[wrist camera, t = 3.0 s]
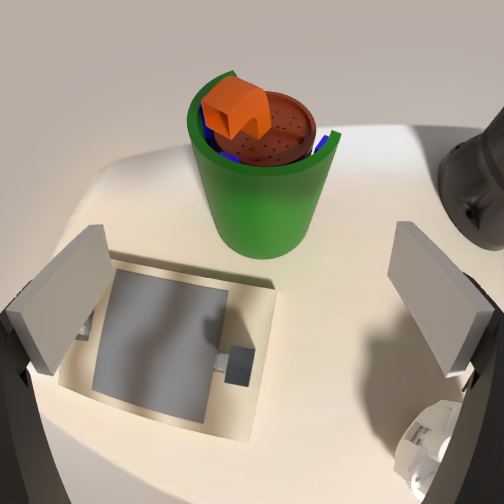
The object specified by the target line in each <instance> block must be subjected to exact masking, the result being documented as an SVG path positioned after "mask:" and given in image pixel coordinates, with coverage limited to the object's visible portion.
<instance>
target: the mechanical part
mask: <svg viewBox="0 0 504 504" xmlns="http://www.w3.org/2000/svg"><path fill="white" fill-rule="evenodd" d="M462 404H463V403H459V402H453V401H448V400H440V401H439V402H437V403H436V404H434V405H431V406H428V407H427V408H426V409H424V410H423V411H422V412H421V413H420V414H419V415H418V416H417V417H416V419H415V420H414V421H413V422H412V423H411V425H410V426H409V427H408V429H407V430H406V432H405V433H404V435H403V436H402V438H401V440H400V442H399V444H398V447H397V449H396V452H395V456H394V459H395V465H394V471H395V472H396V473H397V474H398V475H399V476H401V477H402V478H403V479H404V480H406V483H407V485H408V488H409V490H410V491H411V493H412V494H413V495H414V496H415V497H417V498H418V499H419V500H421V501H423V499H424V497H425V495H426V493H427V491H428V489H429V487H430V485H431V483H432V481H433V479H434V477H435V474H436V472H437V470H438V468H439V465H440V463H441V461H442V458H443V456H444V454H445V451H446V449H447V446H448V444H449V441H450V438H451V436H452V433H453V430H454V428H455V425H456V422H457V419H458V416H459V413H460V410H461V407H462ZM420 426H421V427H422V428H421V430H420V431H419V432H418V433H417V435H416V436H415V438H414V440H413V441H412V442H411V439H412V438H413V436H414V435H415V433H416V432H417V431H418V429H419V428H420Z"/></svg>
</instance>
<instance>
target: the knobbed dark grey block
mask: <svg viewBox="0 0 504 504" xmlns="http://www.w3.org/2000/svg"><path fill="white" fill-rule="evenodd" d="M93 315H94V312H93V311H92V312H91V314H90V315H89V317H88V318H87V320H86V322H85V323H84V325H83V326H82V328H81V330H80V331H79V333H78V334H77V336H76V338H75V340H82V341H88V339H89V334H90V332H91V329H92V320H93Z"/></svg>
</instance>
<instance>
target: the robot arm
mask: <svg viewBox="0 0 504 504" xmlns="http://www.w3.org/2000/svg"><path fill="white" fill-rule="evenodd" d="M438 185H439V191H440V195H441V198H442V201H443V204H444V206H445V209H446V211H447V213H448V215H449V216H450V218H451V220H452V221H453V223H454V224H455V225H456V227H457V228H458V229H459V230H460V232H461V233H462V234H463V235H464V236H465V237H466V238H467V239H469V240H470V241H471V242H472V243H474V244H475V245H477V246H479V247H481V248H483V249H486V250H490V251H499V250H502V249H504V107H503V108H502V110H501V111H500V112H499V113H498V115H497V116H496V117H495V118H494V120H493V121H492V122H491V123H490V125H489V126H488V127H487V128H486V129H485V131H484V132H483V133H481V134H479V135H477V136H475V137H473V138H471V139H469V140H468V141H466V142H463V143H460V144H458V145H456V146H455V147H454V148H452V149H451V150H450V152H449V153H448V154H447V155H446V157H445V158H444V159H443V161H442V162H441V164H440V167H439V172H438ZM387 276H388V277H389V279H390V280H391V282H392V283H393V285H394V287H395V288H396V290H397V292H398V293H399V295H400V297H401V298H402V300H403V301H404V303H405V305H406V307H407V308H408V310H409V312H410V313H411V315H412V317H413V318H414V320H415V322H416V324H417V325H418V327H419V329H420V331H421V332H422V334H423V336H424V338H425V340H426V341H427V343H428V345H429V347H430V349H431V351H432V352H433V354H434V356H435V358H436V360H437V362H438V364H439V366H440V368H441V369H442V371H443V373H444V375H445V377H446V378H448V377H453V376H457V375H462V374H463V373H464V371H465V370H466V368H467V366H468V364H469V362H471V363H472V365H473V367H474V368H475V369H474V371H473V372H472V374H471V376H470V378H469V379H468V381H467V383H466V384H465V386H464V388H463V389H462V391H463V392H464V391H465V390H466V388H467V390H466V394H465V397H464V400H463V404H462V407H461V410H460V413H459V416H458V419H457V422H456V425H455V428H454V430H453V433H452V436H451V438H450V441H449V444H448V446H447V449H446V451H445V454H444V456H443V458H442V461H441V463H440V465H439V468H438V470H437V472H436V474H435V477H434V479H433V481H432V483H431V485H430V487H429V489H428V491H427V493H426V495H425V497H424V499H423V501H422V503H421V504H504V313H503V312H502V310H501V309H500V308H499V307H498V306H497V304H496V303H495V302H494V301H493V300H492V299H491V298H490V296H489V295H488V294H486V292H485V291H484V290H483V289H482V288H481V286H480V285H479V284H478V283H477V282H476V281H475V280H474V279H473V278H472V277H470V276H469V275H467V274H466V273H464V272H462V271H461V270H460V269H459V268H458V267H457V266H456V265H455V264H454V263H453V262H452V261H451V260H450V259H449V258H448V257H447V256H446V255H445V254H444V253H443V252H442V251H441V250H440V248H439V247H438V246H437V245H436V244H435V243H433V242H432V241H431V240H430V239H429V238H428V237H427V236H426V235H425V234H424V233H423V232H422V231H421V230H420V229H419V228H418V227H417V226H416V225H415V224H414V223H413V222H406V221H397V226H396V232H395V238H394V243H393V249H392V254H391V259H390V264H389V269H388V274H387ZM114 277H115V276H114V272H113V268H112V263H111V259H110V255H109V250H108V246H107V241H106V237H105V232H104V227H103V224H102V225H89V226H88V227H87V228H85V229H84V230H83V231H82V232H81V233H80V234H79V235H78V236H77V237H76V238H75V239H73V240H72V241H71V242H70V243H69V244H68V245H67V246H66V247H65V248H64V249H63V250H62V251H61V252H60V253H59V254H58V255H57V256H56V257H55V258H54V259H53V260H52V261H51V262H50V263H49V264H48V265H47V266H46V267H45V268H44V269H43V270H42V271H41V272H40V273H39V274H38V275H37V276H36V277H35V278H34V279H33V280H31V281H30V282H28V284H27V285H26V286H25V287H24V288H23V289H22V291H20V292H19V293H18V294H17V296H16V297H15V298H14V299H13V300H12V301H11V302H10V303H9V304H8V305H7V306H6V308H5V309H4V310H3V311H2V312H1V313H0V504H71V502H70V500H69V498H68V495H67V493H66V490H65V488H64V485H63V483H62V481H61V478H60V476H59V473H58V470H57V468H56V465H55V462H54V459H53V457H52V454H51V451H50V448H49V445H48V442H47V438H46V435H45V432H44V429H43V425H42V422H41V419H40V414H39V411H38V407H37V403H36V399H35V394H34V390H33V385H32V381H31V376H30V373H29V371H28V370H27V368H26V367H27V365H28V364H29V362H30V361H31V362H32V364H33V366H34V368H35V369H36V371H37V373H41V374H45V375H50V376H54V374H55V372H56V370H57V368H58V367H59V365H60V363H61V361H62V360H63V358H64V356H65V355H66V353H67V351H68V349H69V348H70V346H71V344H72V343H73V341H74V339H75V338H76V336H77V334H78V333H79V331H80V330H81V328H82V326H83V325H84V323H85V322H86V320H87V318H88V317H89V315H90V314H91V312H92V311H93V309H94V307H95V306H96V304H97V303H98V301H99V300H100V298H101V297H102V295H103V294H104V292H105V291H106V289H107V288H108V286H109V285H110V283H111V282H112V280H113V279H114Z"/></svg>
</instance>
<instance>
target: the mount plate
mask: <svg viewBox="0 0 504 504" xmlns="http://www.w3.org/2000/svg"><path fill="white" fill-rule="evenodd" d="M111 263H112V268H113V272H114V276H115V277H114V279H113V280H112V282H111V283H110V285H109V286H108V288H107V289H106V291H105V292H104V294H103V295H102V297H101V298H100V300H99V301H98V303H97V304H96V306H95V307H94V309H93V312H94V315H93V320H92V329H91V332H90V334H89V339H88V341H82V340H75V339H74V341H73V343H72V344H71V346H70V348H69V349H68V351H67V353H66V355H65V356H64V358H63V360H62V361H61V367H60V373H59V380H58V384H59V385H61V386H63V387H65V388H67V389H70V390H72V391H74V392H77V393H79V394H81V395H84V396H86V397H89V398H91V399H94V400H96V401H99V402H102V403H104V404H107V405H110V406H112V407H115V408H118V409H121V410H124V411H127V412H129V413H132V414H136V415H139V416H142V417H145V418H148V419H151V420H155V421H158V422H161V423H165V424H169V425H172V426H176V427H180V428H183V429H187V430H191V431H195V432H200V433H204V434H208V435H213V436H218V437H222V438H227V439H233V440H238V441H243V442H249V440H250V435H251V430H252V425H253V420H254V415H255V410H256V405H257V400H258V395H259V390H260V385H261V379H262V374H263V369H264V363H265V358H266V352H267V347H268V341H269V336H270V330H271V324H272V319H273V313H274V307H275V301H276V295H277V290H274V289H268V288H262V287H256V286H250V285H244V284H239V283H233V282H227V281H222V280H216V279H211V278H205V277H200V276H195V275H189V274H184V273H179V272H173V271H168V270H163V269H158V268H153V267H148V266H143V265H138V264H133V263H128V262H123V261H118V260H114V259H111ZM231 345H234V346H239V347H245V348H250V349H256V352H255V358H254V363H253V368H252V374H251V379H250V384H249V387H244V386H238V385H233V384H228V383H224V380H225V374H226V373H221V372H216V371H212V365H213V359H214V355H215V352H216V350H217V351H222V352H227V353H230V348H231Z"/></svg>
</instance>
